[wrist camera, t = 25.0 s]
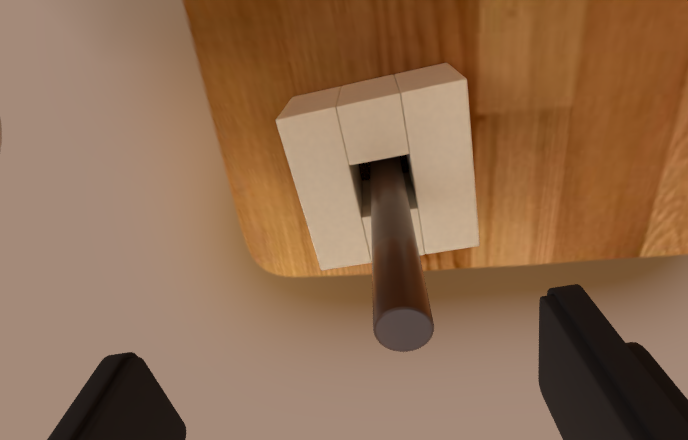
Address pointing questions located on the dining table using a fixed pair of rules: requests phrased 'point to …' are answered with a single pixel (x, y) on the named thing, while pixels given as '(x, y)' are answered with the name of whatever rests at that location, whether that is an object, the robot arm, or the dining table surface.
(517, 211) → the dining table surface
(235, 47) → the dining table surface
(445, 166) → the holder
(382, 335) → the stick
